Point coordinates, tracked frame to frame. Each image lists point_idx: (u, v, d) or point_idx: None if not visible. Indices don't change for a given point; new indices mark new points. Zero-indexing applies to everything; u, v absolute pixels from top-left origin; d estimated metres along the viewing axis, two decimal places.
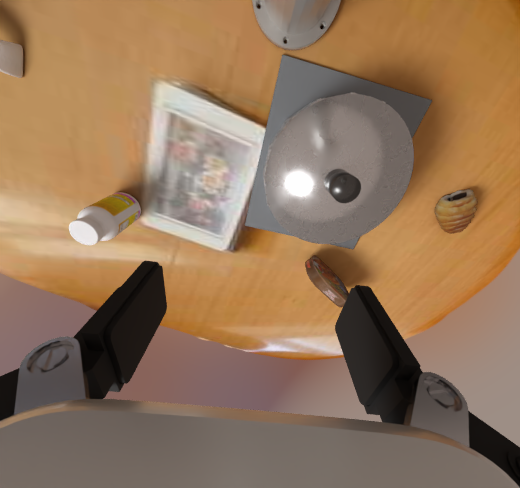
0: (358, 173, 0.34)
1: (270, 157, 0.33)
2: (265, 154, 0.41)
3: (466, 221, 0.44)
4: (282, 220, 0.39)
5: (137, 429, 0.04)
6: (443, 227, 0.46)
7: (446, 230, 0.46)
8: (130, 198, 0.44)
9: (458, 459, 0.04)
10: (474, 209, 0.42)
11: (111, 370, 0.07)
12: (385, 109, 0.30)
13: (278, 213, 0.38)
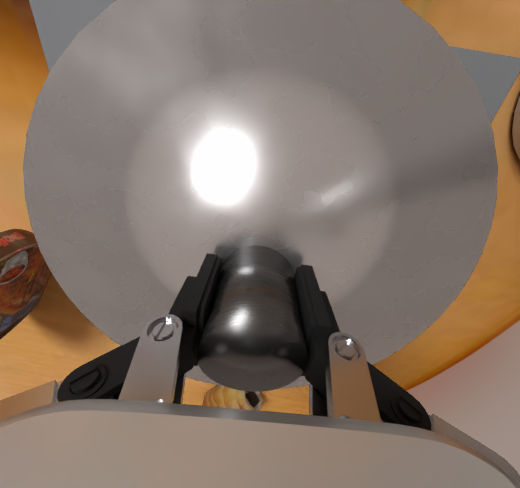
0: None
1: None
2: None
3: None
4: (57, 118, 0.08)
5: (136, 429, 0.04)
6: (207, 398, 0.32)
7: (204, 403, 0.32)
8: None
9: (458, 459, 0.04)
10: None
11: (196, 345, 0.08)
12: (418, 327, 0.14)
13: (78, 89, 0.08)
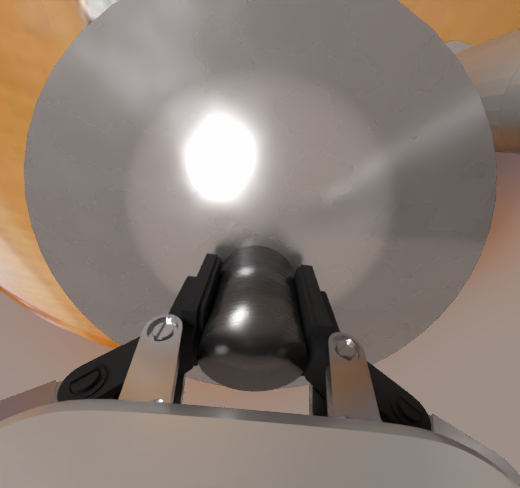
0: None
1: None
2: None
3: None
4: (58, 118, 0.09)
5: (137, 428, 0.04)
6: None
7: None
8: None
9: (458, 459, 0.04)
10: None
11: (196, 345, 0.08)
12: (418, 327, 0.14)
13: (79, 90, 0.08)
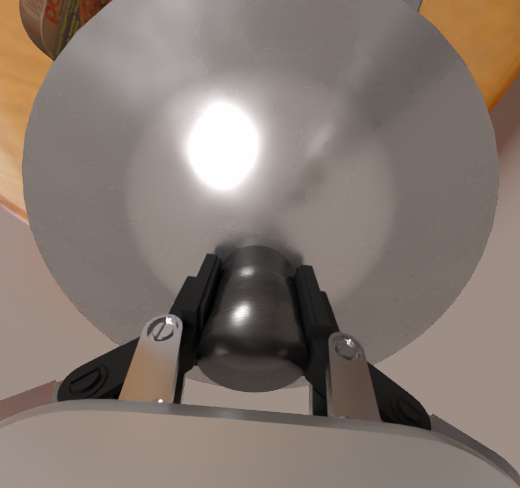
0: None
1: None
2: None
3: None
4: (56, 117, 0.08)
5: (137, 428, 0.04)
6: None
7: None
8: None
9: (458, 459, 0.04)
10: None
11: (196, 345, 0.08)
12: (419, 327, 0.14)
13: (77, 88, 0.08)
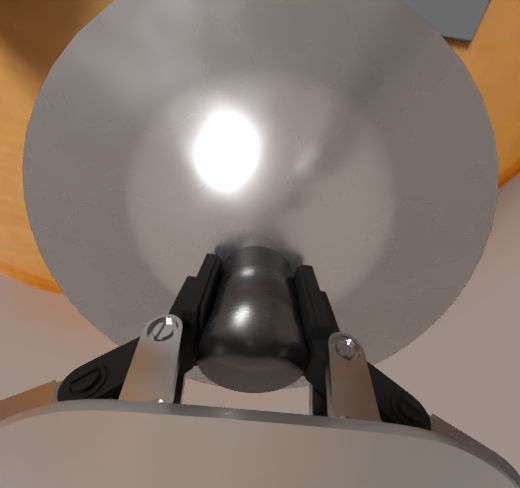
0: None
1: None
2: None
3: None
4: (56, 118, 0.08)
5: (137, 429, 0.04)
6: None
7: None
8: None
9: (458, 459, 0.04)
10: None
11: (196, 345, 0.08)
12: (418, 328, 0.14)
13: (77, 89, 0.08)
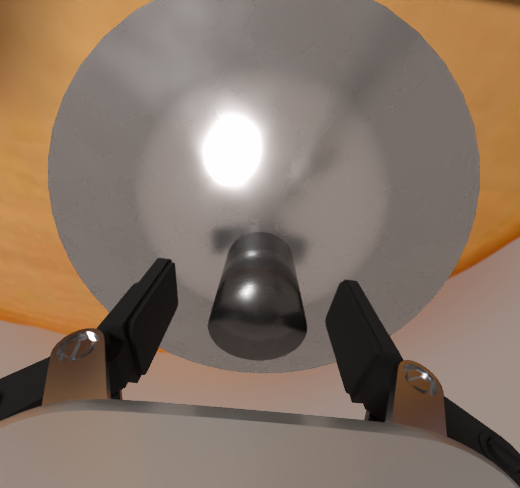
0: None
1: None
2: None
3: None
4: (81, 113, 0.09)
5: (137, 429, 0.04)
6: None
7: None
8: None
9: (458, 459, 0.04)
10: None
11: (131, 361, 0.07)
12: (411, 311, 0.15)
13: (101, 87, 0.09)
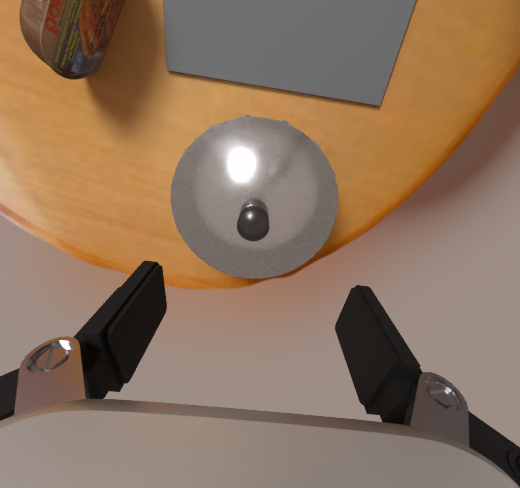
0: None
1: (275, 122, 0.25)
2: None
3: None
4: (192, 154, 0.27)
5: (137, 429, 0.04)
6: None
7: None
8: None
9: (458, 459, 0.04)
10: None
11: (111, 370, 0.07)
12: (323, 238, 0.33)
13: (201, 146, 0.27)
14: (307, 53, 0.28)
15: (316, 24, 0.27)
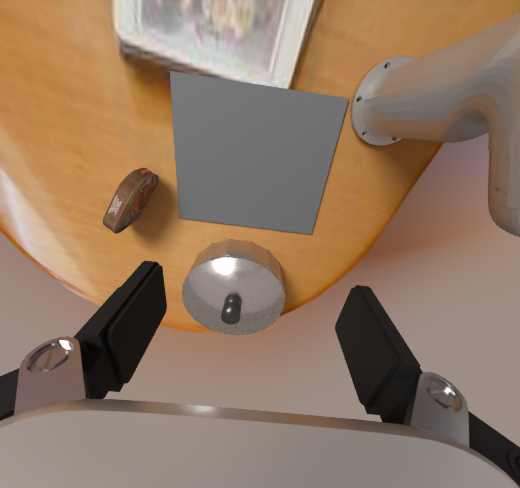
0: (241, 310, 0.51)
1: (242, 260, 0.44)
2: (262, 92, 0.36)
3: None
4: (194, 273, 0.46)
5: (136, 429, 0.04)
6: None
7: None
8: None
9: (458, 459, 0.04)
10: None
11: (111, 370, 0.07)
12: (278, 313, 0.51)
13: (200, 270, 0.45)
14: (263, 210, 0.46)
15: (267, 198, 0.45)
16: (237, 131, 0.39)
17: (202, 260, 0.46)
